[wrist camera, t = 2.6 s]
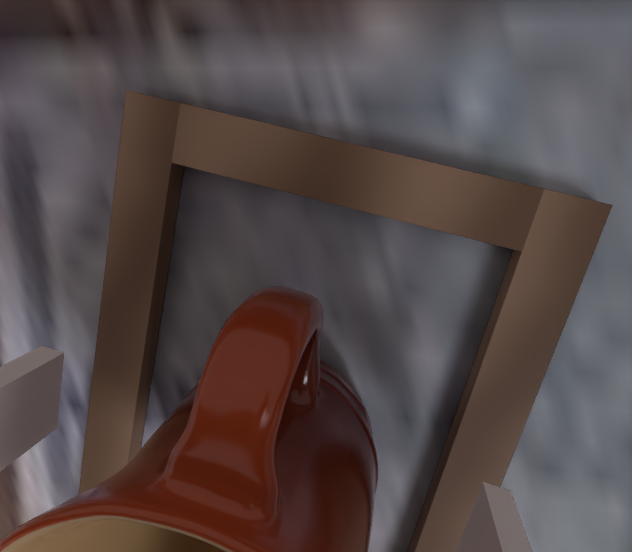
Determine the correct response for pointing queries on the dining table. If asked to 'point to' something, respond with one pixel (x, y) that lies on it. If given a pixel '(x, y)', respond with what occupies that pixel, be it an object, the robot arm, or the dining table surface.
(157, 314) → the frame
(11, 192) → the dining table surface
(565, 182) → the dining table surface
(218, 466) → the mug
